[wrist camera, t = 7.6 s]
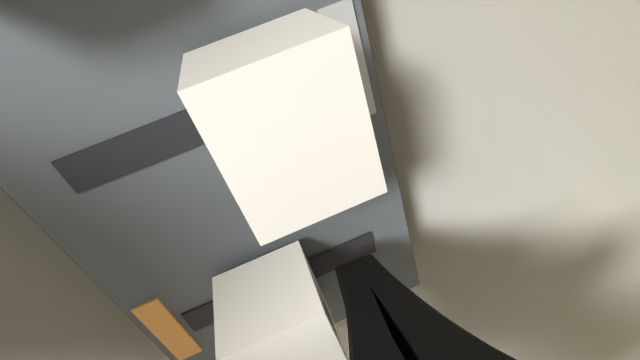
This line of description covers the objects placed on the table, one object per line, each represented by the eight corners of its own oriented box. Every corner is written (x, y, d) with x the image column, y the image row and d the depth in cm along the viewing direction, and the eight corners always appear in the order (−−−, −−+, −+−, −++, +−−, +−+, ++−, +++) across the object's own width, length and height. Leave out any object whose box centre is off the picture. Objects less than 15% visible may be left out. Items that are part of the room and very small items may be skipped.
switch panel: (402, 260, 17) (420, 286, 15) (197, 352, 16) (197, 387, 15) (204, -591, 6) (206, -761, 4) (-505, -428, 5) (-764, -572, 4)
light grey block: (327, 305, 14) (355, 379, 11) (254, 338, 14) (267, 420, 11) (298, 240, 12) (324, 312, 9) (212, 277, 12) (215, 361, 9)
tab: (342, 138, 11) (387, 191, 8) (245, 178, 10) (260, 246, 8) (305, 8, 9) (349, 26, 6) (183, 54, 8) (177, 92, 6)
